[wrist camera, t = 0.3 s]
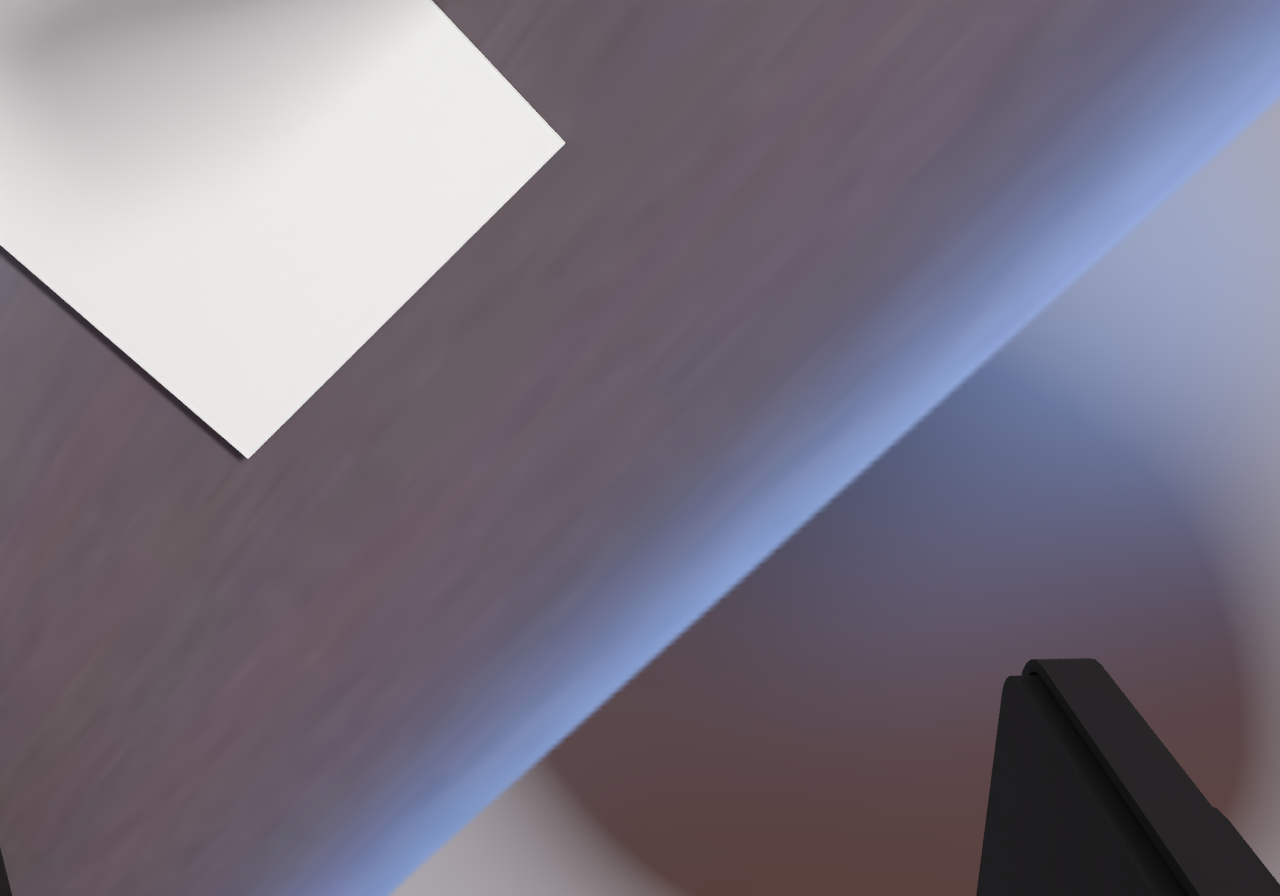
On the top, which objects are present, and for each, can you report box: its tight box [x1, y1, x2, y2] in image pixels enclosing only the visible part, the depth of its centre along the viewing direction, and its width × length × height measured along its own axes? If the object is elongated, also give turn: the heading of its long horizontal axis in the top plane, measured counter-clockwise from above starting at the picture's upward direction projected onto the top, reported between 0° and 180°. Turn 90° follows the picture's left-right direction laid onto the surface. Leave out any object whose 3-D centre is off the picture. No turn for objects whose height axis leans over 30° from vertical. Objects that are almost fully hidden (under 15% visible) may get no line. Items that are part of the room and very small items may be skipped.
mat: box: [0, 0, 565, 459], centre depth 36 cm, size 16×18×1 cm
